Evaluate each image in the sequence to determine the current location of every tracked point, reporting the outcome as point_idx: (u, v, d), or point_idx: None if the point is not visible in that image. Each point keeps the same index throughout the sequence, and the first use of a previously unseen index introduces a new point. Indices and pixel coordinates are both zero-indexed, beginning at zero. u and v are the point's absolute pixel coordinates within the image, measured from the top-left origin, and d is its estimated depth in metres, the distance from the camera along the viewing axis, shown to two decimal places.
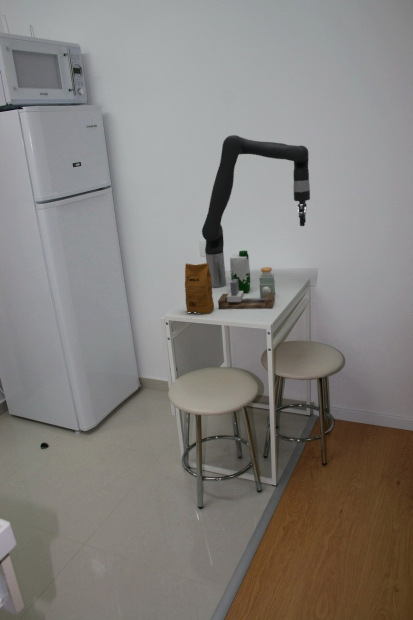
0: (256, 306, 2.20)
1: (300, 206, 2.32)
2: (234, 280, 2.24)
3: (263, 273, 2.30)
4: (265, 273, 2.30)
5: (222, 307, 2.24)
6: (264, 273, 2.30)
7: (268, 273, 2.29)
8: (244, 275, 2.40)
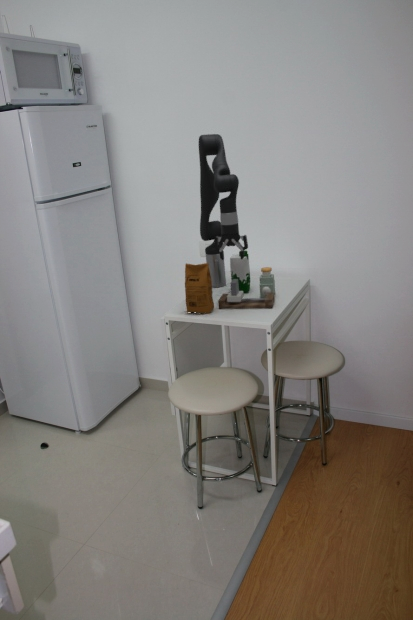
0: (256, 306, 2.20)
1: (246, 237, 2.15)
2: (234, 280, 2.24)
3: (263, 273, 2.30)
4: (265, 273, 2.30)
5: (222, 307, 2.24)
6: (264, 273, 2.30)
7: (268, 273, 2.29)
8: (244, 275, 2.40)
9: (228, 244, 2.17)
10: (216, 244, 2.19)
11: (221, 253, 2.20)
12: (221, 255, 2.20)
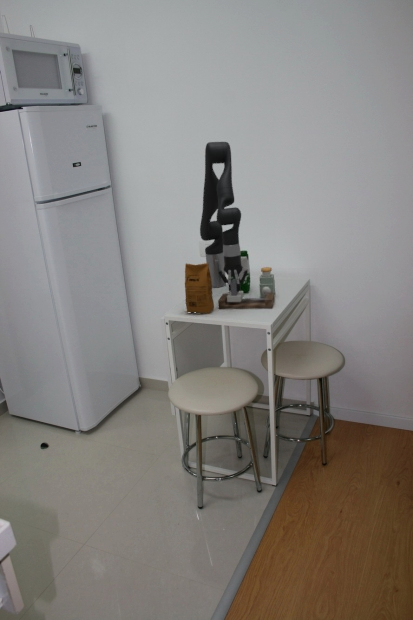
0: (256, 306, 2.20)
1: (247, 272, 2.20)
2: (234, 280, 2.24)
3: (263, 273, 2.30)
4: (265, 273, 2.30)
5: (222, 307, 2.24)
6: (264, 273, 2.30)
7: (268, 273, 2.29)
8: None
9: (233, 274, 2.21)
10: (223, 277, 2.23)
11: None
12: (230, 287, 2.24)
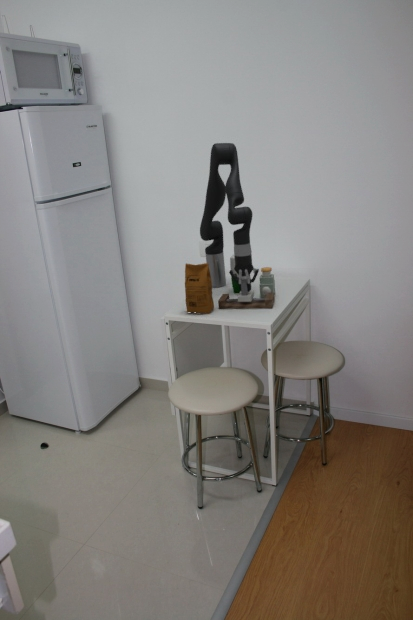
0: (256, 306, 2.20)
1: None
2: (245, 280, 2.23)
3: (263, 273, 2.30)
4: (265, 273, 2.30)
5: (222, 307, 2.24)
6: (264, 273, 2.30)
7: (268, 273, 2.29)
8: None
9: (243, 273, 2.20)
10: (233, 277, 2.22)
11: (240, 285, 2.22)
12: (240, 287, 2.23)
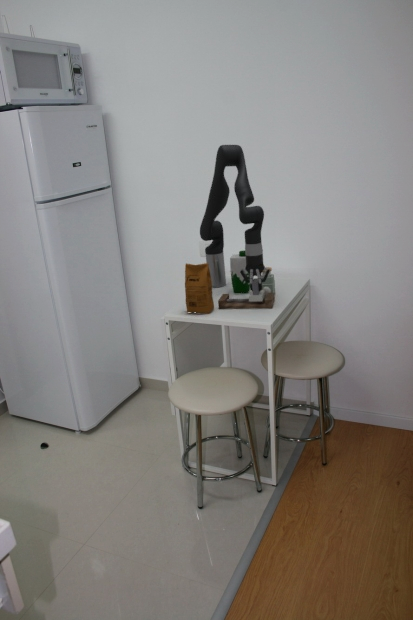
0: (256, 306, 2.20)
1: (269, 271, 2.18)
2: (256, 279, 2.22)
3: (263, 273, 2.30)
4: (265, 273, 2.30)
5: (222, 307, 2.24)
6: (264, 273, 2.30)
7: None
8: None
9: (254, 273, 2.19)
10: (244, 276, 2.21)
11: (251, 285, 2.21)
12: (251, 287, 2.21)
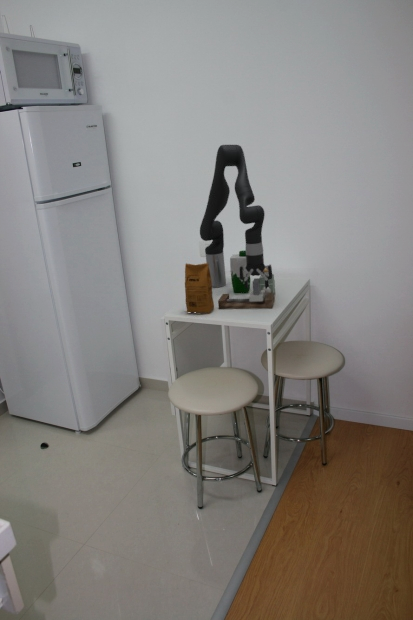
0: (256, 306, 2.20)
1: (271, 267, 2.17)
2: (256, 279, 2.22)
3: None
4: None
5: (222, 307, 2.24)
6: None
7: (268, 273, 2.29)
8: (244, 275, 2.40)
9: (253, 274, 2.19)
10: (241, 273, 2.20)
11: (246, 282, 2.21)
12: (245, 284, 2.22)
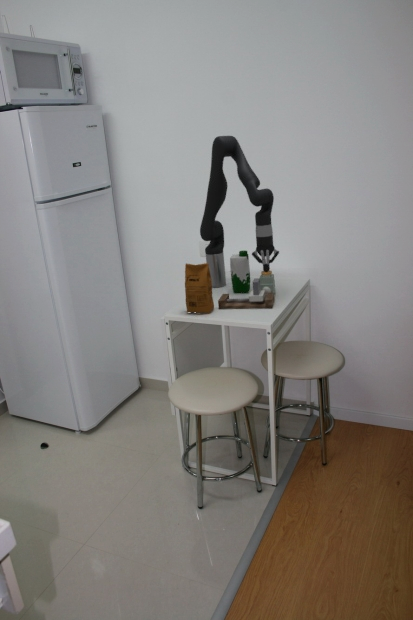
0: (256, 306, 2.20)
1: (278, 253, 2.27)
2: (256, 279, 2.22)
3: (263, 276, 2.30)
4: (265, 276, 2.30)
5: (222, 307, 2.24)
6: (264, 276, 2.30)
7: (268, 276, 2.30)
8: (244, 275, 2.40)
9: (265, 253, 2.27)
10: (256, 258, 2.29)
11: (264, 265, 2.29)
12: (264, 267, 2.30)
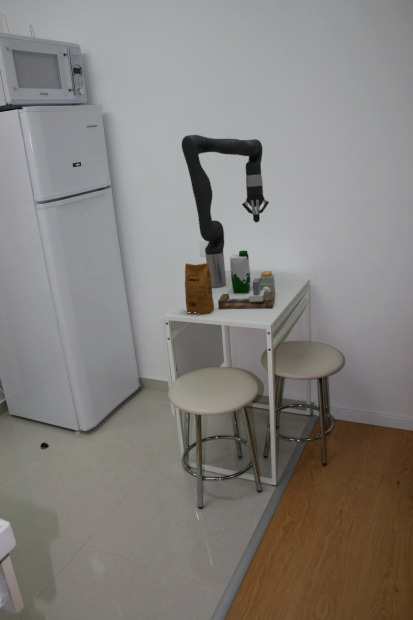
0: (256, 306, 2.20)
1: None
2: (256, 279, 2.22)
3: None
4: None
5: (222, 307, 2.24)
6: None
7: None
8: (244, 275, 2.40)
9: (255, 203, 2.34)
10: (247, 208, 2.35)
11: (254, 216, 2.36)
12: (254, 217, 2.36)
